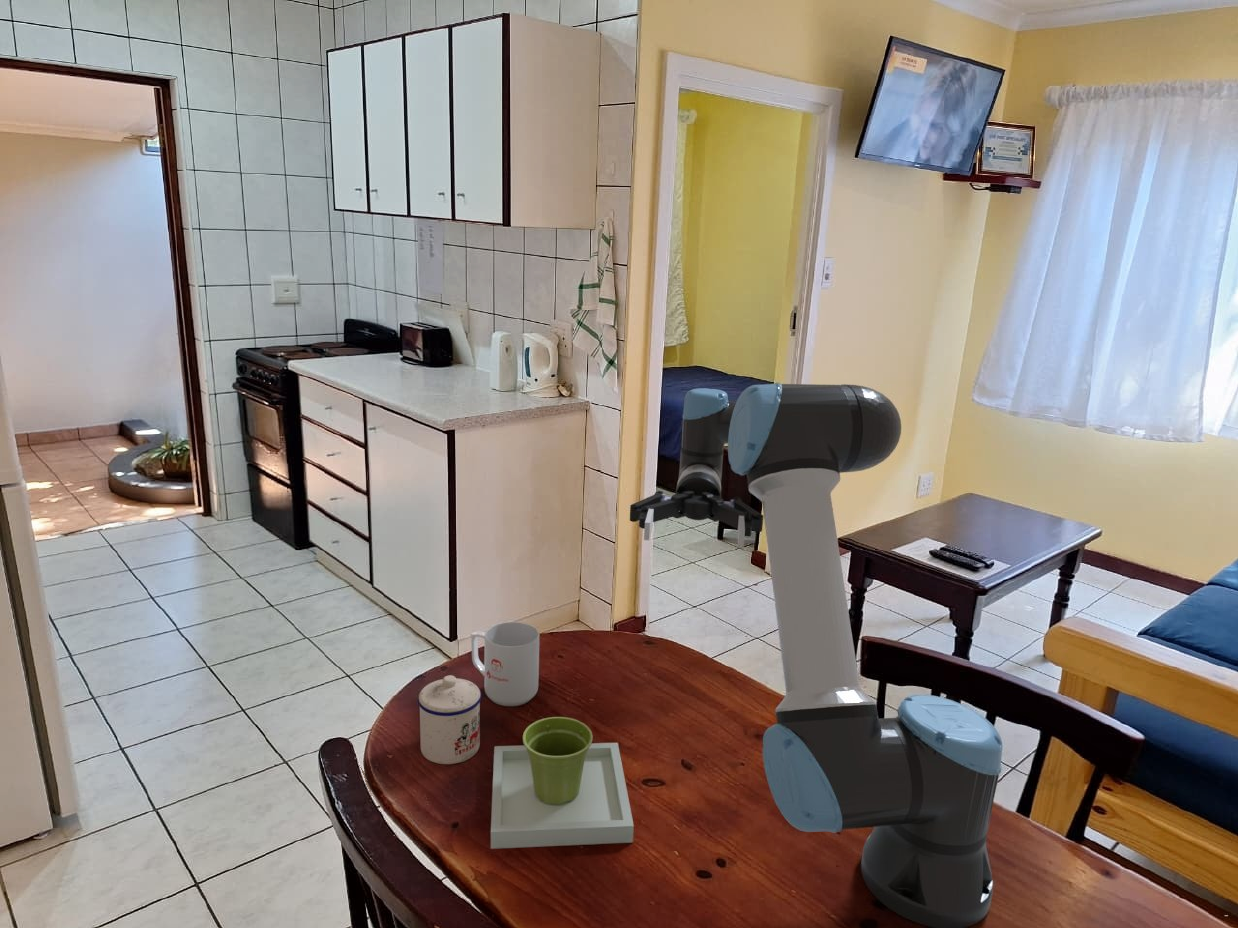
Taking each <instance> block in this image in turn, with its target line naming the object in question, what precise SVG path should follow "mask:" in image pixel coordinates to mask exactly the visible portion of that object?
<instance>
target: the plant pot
mask: <svg viewBox="0 0 1238 928" xmlns="http://www.w3.org/2000/svg"><path fill="white" fill-rule="evenodd" d="M593 738H594V737H593V732H592V730H591V728H590V727H589V726H587V724H585V723H583V722H581V721H580V720H578V719H575V718H571V717H566V716H552V717H551V716H550V717H546V718H544V717H543V718H542V719H538V720H536V721H534V722H533V723H531V724H529V725H528V726H527V727H526V728H525V730H524V731H523V735H522V743H523V745H524V746H525V747H526V749H527V752H528V754H529V757H530V763H531V770H532V776H533V784H534V791H535V794H536V795H537V796H538V798H539V799H540V800H541V801H542V802H545V803H548V804H553V805H560V804H563V803H565V802H566V801H572V800H574V799H575V798H576V797H577V795H578V793H579V789H580V783H581V777H582V771H583V766H584V760H585V755H586V754H587V751H588V748H589V747H590V745H591V743H593V740H594V739H593Z"/></svg>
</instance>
